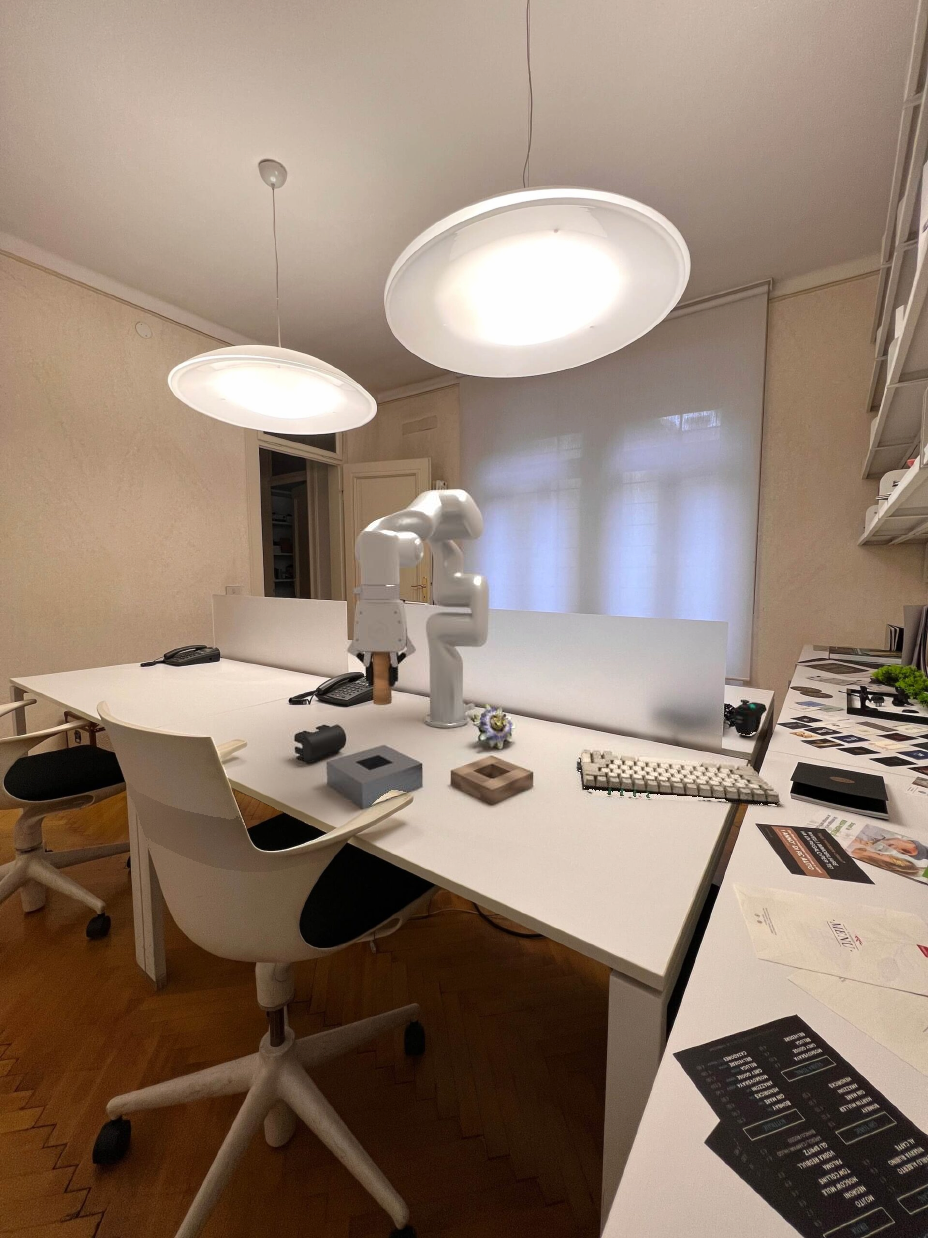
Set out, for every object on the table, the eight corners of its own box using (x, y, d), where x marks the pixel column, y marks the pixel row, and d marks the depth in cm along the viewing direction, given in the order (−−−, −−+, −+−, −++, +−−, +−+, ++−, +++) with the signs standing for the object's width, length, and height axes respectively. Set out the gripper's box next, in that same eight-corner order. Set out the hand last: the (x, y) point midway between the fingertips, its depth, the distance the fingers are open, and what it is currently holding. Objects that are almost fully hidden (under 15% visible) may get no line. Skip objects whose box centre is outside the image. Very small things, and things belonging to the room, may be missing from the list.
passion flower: (499, 769, 124) (483, 740, 117) (470, 749, 132) (455, 720, 125) (528, 737, 129) (515, 707, 122) (499, 720, 136) (485, 690, 130)
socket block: (384, 766, 113) (384, 744, 112) (422, 786, 102) (422, 763, 102) (327, 784, 103) (326, 761, 103) (362, 809, 93) (362, 783, 92)
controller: (729, 737, 131) (731, 700, 130) (750, 728, 139) (752, 693, 137) (746, 742, 128) (749, 704, 127) (767, 732, 135) (769, 696, 134)
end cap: (312, 767, 112) (311, 738, 111) (293, 760, 116) (292, 732, 116) (347, 753, 120) (346, 726, 119) (328, 747, 124) (327, 721, 124)
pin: (384, 699, 103) (384, 646, 102) (395, 702, 101) (394, 648, 99) (370, 702, 101) (368, 648, 100) (380, 706, 98) (379, 651, 97)
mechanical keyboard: (748, 771, 111) (749, 757, 111) (787, 814, 93) (788, 797, 92) (575, 760, 118) (575, 747, 117) (579, 798, 99) (579, 782, 99)
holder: (491, 768, 112) (491, 755, 111) (533, 786, 103) (533, 772, 102) (450, 784, 104) (450, 770, 103) (492, 805, 95) (492, 789, 94)
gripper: (333, 595, 95) (336, 689, 97) (420, 595, 94) (421, 690, 96) (343, 592, 102) (346, 680, 104) (424, 592, 102) (425, 681, 104)
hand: (382, 684), depth 100 cm, fingers closed on pin, 3 cm apart
